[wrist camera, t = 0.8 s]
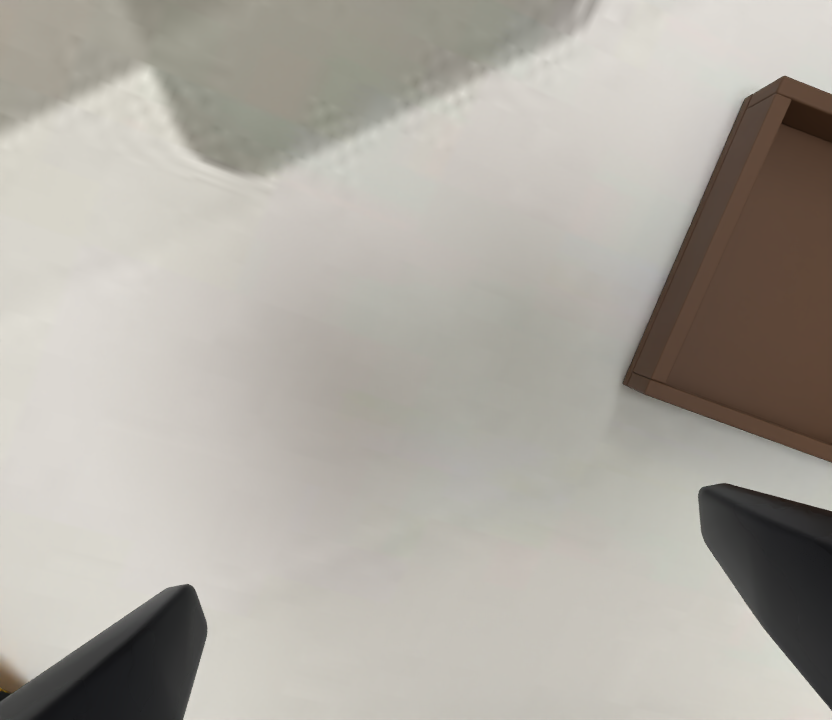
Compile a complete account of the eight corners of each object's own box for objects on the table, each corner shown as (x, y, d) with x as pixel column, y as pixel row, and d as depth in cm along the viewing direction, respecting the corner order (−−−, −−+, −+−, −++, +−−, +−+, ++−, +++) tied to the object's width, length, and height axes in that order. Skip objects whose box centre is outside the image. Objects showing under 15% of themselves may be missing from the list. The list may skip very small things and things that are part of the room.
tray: (860, 470, 23) (907, 490, 21) (621, 383, 23) (643, 394, 21) (1000, 198, 21) (1069, 187, 19) (744, 97, 21) (784, 74, 19)
